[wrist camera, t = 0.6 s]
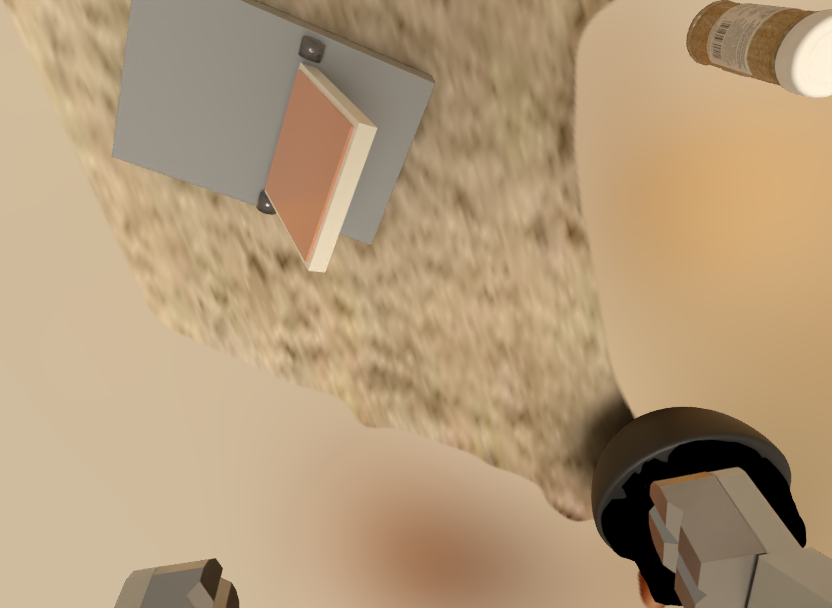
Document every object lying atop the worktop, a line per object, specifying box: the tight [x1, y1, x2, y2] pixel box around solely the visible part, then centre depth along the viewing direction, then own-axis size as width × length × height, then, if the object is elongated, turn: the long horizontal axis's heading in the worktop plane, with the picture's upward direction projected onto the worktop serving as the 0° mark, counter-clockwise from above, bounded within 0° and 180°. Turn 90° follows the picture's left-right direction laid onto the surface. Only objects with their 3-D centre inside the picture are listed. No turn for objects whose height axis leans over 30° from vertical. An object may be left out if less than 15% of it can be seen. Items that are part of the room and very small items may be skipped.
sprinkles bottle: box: [687, 0, 832, 98], centre depth 37 cm, size 5×5×14 cm
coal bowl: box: [591, 407, 806, 606], centre depth 57 cm, size 20×20×19 cm
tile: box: [265, 62, 377, 272], centre depth 37 cm, size 10×11×1 cm
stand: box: [112, 0, 435, 245], centre depth 42 cm, size 14×21×5 cm, turn 68°
